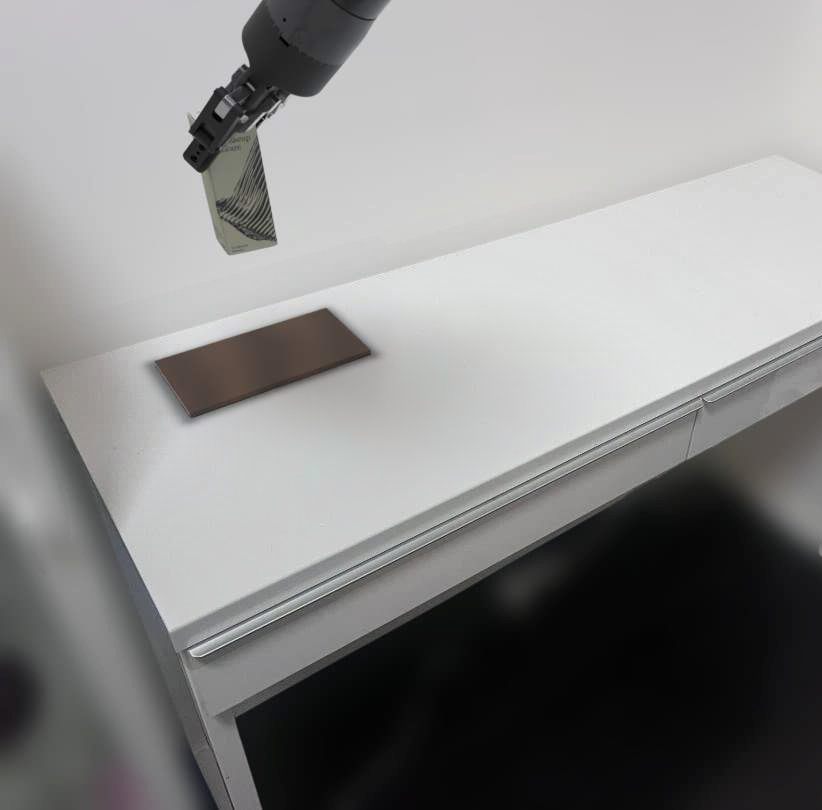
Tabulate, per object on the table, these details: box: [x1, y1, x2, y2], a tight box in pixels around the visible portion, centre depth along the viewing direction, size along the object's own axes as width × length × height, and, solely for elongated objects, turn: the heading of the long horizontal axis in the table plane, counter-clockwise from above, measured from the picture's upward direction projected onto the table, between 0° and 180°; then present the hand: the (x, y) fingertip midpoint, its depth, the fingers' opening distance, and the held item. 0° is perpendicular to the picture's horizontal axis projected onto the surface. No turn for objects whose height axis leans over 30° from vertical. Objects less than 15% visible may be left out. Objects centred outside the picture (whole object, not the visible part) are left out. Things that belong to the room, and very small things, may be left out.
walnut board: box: [153, 307, 372, 418], centre depth 88 cm, size 20×11×1 cm, turn 128°
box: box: [186, 108, 279, 256], centre depth 76 cm, size 5×4×13 cm
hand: (214, 149), depth 75 cm, fingers closed on box, 6 cm apart
